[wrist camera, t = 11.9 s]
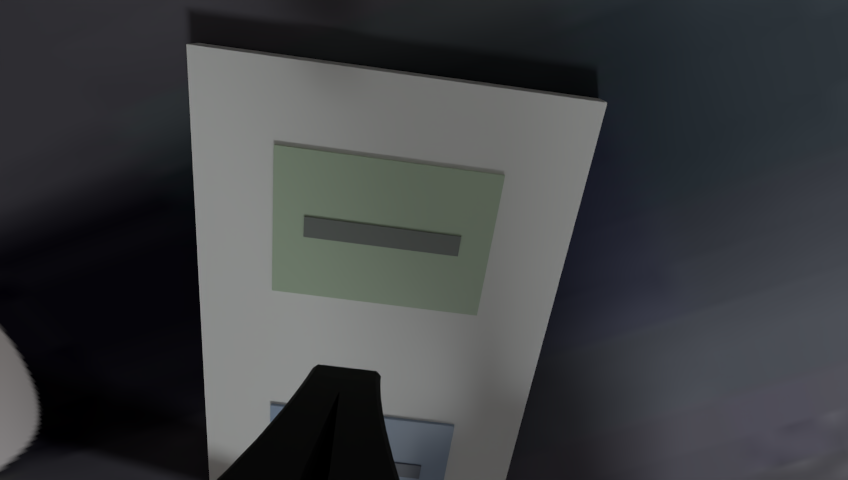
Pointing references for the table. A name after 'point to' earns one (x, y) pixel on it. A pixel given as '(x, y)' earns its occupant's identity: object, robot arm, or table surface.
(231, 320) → the label panel
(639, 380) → the table surface
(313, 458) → the robot arm
